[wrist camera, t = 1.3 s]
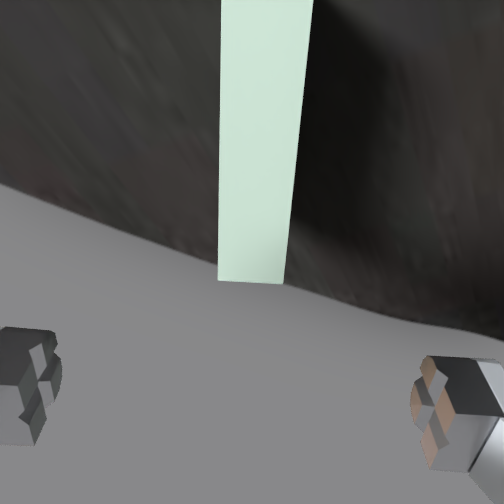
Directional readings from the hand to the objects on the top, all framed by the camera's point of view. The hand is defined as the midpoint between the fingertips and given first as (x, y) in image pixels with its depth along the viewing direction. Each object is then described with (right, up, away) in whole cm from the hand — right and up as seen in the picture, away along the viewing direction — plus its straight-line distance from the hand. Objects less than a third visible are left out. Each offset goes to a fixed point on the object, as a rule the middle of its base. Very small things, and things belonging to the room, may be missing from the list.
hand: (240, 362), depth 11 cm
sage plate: (+1, +14, +22) cm, 26 cm away
